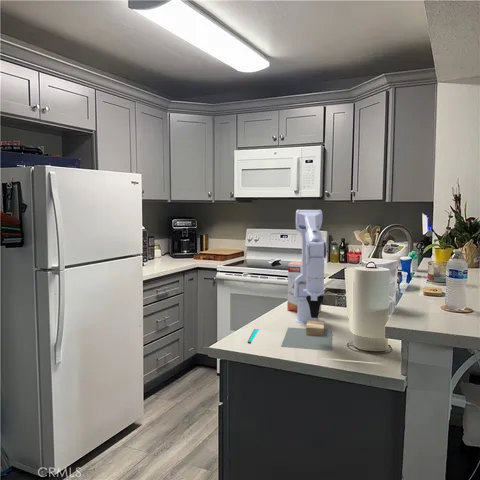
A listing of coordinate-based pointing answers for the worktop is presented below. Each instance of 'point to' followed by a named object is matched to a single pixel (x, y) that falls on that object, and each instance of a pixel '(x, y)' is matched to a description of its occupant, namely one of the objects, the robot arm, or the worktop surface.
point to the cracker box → (293, 272)
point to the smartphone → (253, 335)
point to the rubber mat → (307, 340)
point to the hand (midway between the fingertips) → (314, 317)
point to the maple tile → (315, 327)
